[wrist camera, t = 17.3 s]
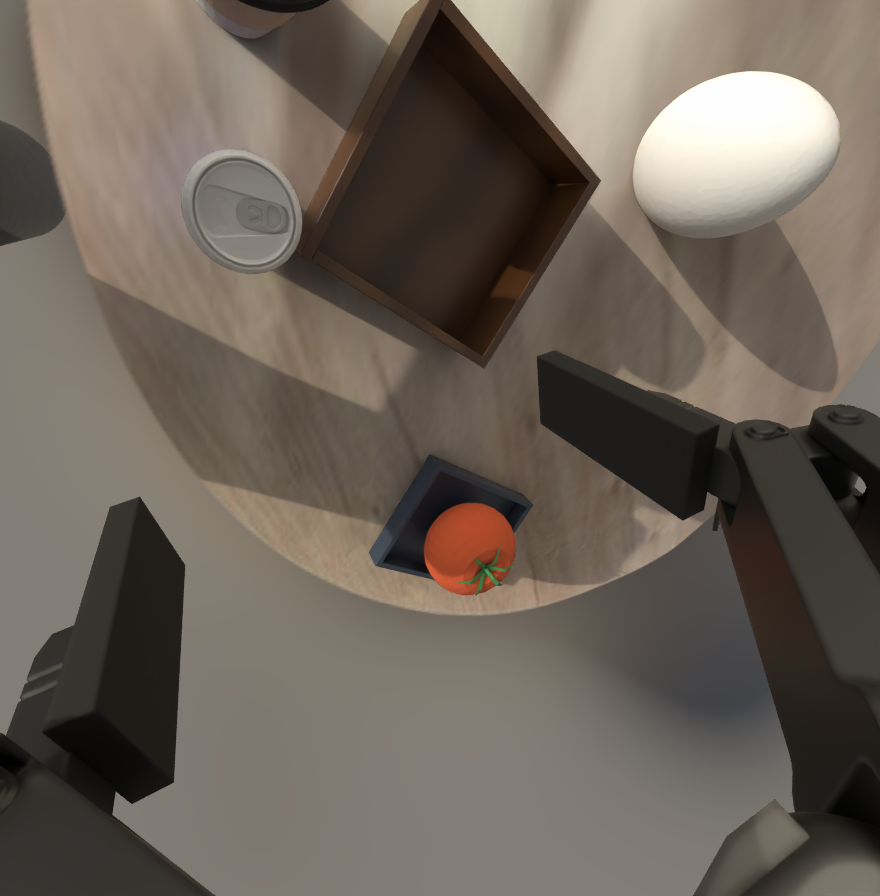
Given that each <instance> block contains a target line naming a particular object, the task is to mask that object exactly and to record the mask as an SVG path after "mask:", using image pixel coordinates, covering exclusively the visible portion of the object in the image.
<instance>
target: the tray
mask: <svg viewBox="0 0 880 896" xmlns="http://www.w3.org/2000/svg"><path fill="white" fill-rule="evenodd" d="M463 503H480V504H484V505H487V506H489V507H492V508H494V509H495V510H497V511H498V512H499V513H501V514H502V515H503V516H504V517H505V518H506V520H507V521H508V523H509V524H510V526H511V527H512V530H513V533H514V532H515V531H516V529H517V528H518V526H519V525H520V523H521V522H522V521H523V519H524V518H525V516H526V515H527V513H528V512H529V510H530V509H531V508H532V506H533V504H532V503H531V502H530V501H529V500H528V499H527V498H526V497H525V496H524V495H522V494H520V493H518V492H515V491H513V490H511V489H508V488H506V487H504V486H501V485H499V484H497V483H495V482H492V481H490V480H488V479H485V478H483V477H481V476H478V475H476V474H474V473H471V472H469V471H467V470H464V469H462V468H460V467H458V466H455V465H453V464H451V463H448V462H446V461H444V460H441V459H439V458H437V457H434V456H432V455H429V457H428V458H427V460H426V462H425V463H424V465H423V466H422V468H421V470H420V471H419V473H418V474H417V476H416V478H415V479H414V481H413V483H412V484H411V486H410V487H409V489H408V491H407V492H406V494H405V495H404V497H403V499H402V500H401V502H400V503H399V505H398V507H397V508H396V510H395V512H394V513H393V515H392V516H391V518H390V520H389V521H388V523H387V524H386V526H385V528H384V529H383V531H382V532H381V534H380V536H379V537H378V539H377V540H376V542H375V544H374V545H373V547H372V549H371V550H370V552H369V553H370V555H371V557H372V559H373V562H374V564H375V566H378V567H382V568H387V569H391V570H395V571H400V572H404V573H408V574H412V575H417V576H421V577H425V578H429V579H434V578H433V577H432V576H431V574H430V572H429V570H428V568H427V565H426V562H425V557H424V544H425V540H426V536H427V533H428V531H429V528H430V527H431V525H432V524H433V522H434V521H435V520H436V519H437V518H438V517H439V516H440V515H441V514H442V513H443V512H444V511H446V510H448V509H449V508H451V507H454V506H456V505H459V504H463Z"/></svg>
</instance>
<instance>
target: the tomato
mask: <svg viewBox="0 0 880 896" xmlns="http://www.w3.org/2000/svg"><path fill="white" fill-rule="evenodd" d="M515 554H516V541H515V536H514V533H513V530H512V527H511V526H510V524H509V523H508V521H507V520H506V518H505V517H504V516H503V515H502V514H501V513H499V512H498V511H497V510H495V509H494V508H492V507H489V506H487V505H484V504H480V503H463V504H459V505H456V506H454V507H451V508H449V509H448V510H446V511H444V512H443V513H442V514H441V515H440V516H439V517H438V518H437V519H436V520H435V521H434V522H433V524H432V525H431V527H430V528H429V531H428V533H427V536H426V540H425V544H424V557H425V562H426V565H427V568H428V570H429V572H430V574H431V576H432V577H433V578H434V580H435V581H436V582H437V583H438V584H439V585H440V586H442V587H443V588H445V589H446V590H448V591H450V592H453V593H456V594H460V595H474V594H476V595H477V594H478V593H483V592H486V591H487V590H489V589H491V588H493V587H495V586H502V585H501V584H500V582H501V581H502V580H503V579H504V578H505V577H506V575H507V574H508V572H509V570H510V568H511V567H512V566H514V565H515V564H513V561H514V558H515ZM512 564H513V565H512ZM476 595H475V596H476Z"/></svg>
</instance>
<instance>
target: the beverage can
mask: <svg viewBox="0 0 880 896" xmlns="http://www.w3.org/2000/svg"><path fill="white" fill-rule="evenodd" d="M181 205H182V212H183V217H184V220H185V223H186V226H187V228H188V230H189V232H190V235H191V236H192V238H193V239H194V241H195V242H196V244H197V245H198V246H199V247H200V249H201V250H202V251H203V252H204V253H205V254H206V255H207V256H209V257H210V258H211V259H212V260H213V261H215V262H217V263H218V264H220V265H221V266H223V267H226V268H228V269H230V270H233V271H236V272H241V273H247V274H258V273H264V272H267V271H270V270H273V269H275V268H277V267H279V266H281V265H282V264H283V263H284V262H286V261H287V260H288V259H289V257H290V256H291V255H292V254H293V252H294V251H295V249H296V247H297V245H298V243H299V240H300V236H301V232H302V212H301V208H300V203H299V201H298V198H297V195H296V193H295V191H294V189H293V187H292V185H291V184H290V182H289V181H288V179H287V178H286V177H285V176H284V174H283V173H282V172H281V171H280V170H279V169H278V168H277V167H276V166H274V165H273V164H272V163H271V162H269V161H268V160H266V159H265V158H263V157H261V156H259V155H257V154H254V153H252V152H249V151H245V150H240V149H222V150H218V151H214V152H212V153H210V154H208V155H205V156H204V157H202V158H201V159H200V160H199V161H197V162H196V163H195V165H194V166H193V167H192V168H191V169H190V171H189V173H188V175H187V176H186V179H185V182H184V184H183V189H182V195H181Z"/></svg>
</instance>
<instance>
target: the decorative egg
mask: <svg viewBox="0 0 880 896" xmlns="http://www.w3.org/2000/svg"><path fill="white" fill-rule="evenodd" d="M840 144H841V130H840V125H839V122H838V118H837V116H836V114H835V112H834V110H833V108H832V107H831V105H830V104H829V103H828V102H827V101H826V100H825V98H824V97H823V96H822V95H821V94H820V93H819V92H818V91H816V90H815V89H814V88H812V87H811V86H809V85H808V84H806V83H804V82H802V81H800V80H798V79H795V78H792V77H789V76H786V75H783V74H777V73H772V72H755V71H751V72H739V73H732V74H728V75H723V76H720V77H717V78H714V79H711V80H708V81H706V82H703V83H701V84H699V85H697V86H695V87H693V88H692V89H690V90H688V91H687V92H685V93H684V94H682V95H681V96H679V97H678V98H677V99H675V100H674V101H673V102H672V103H671V104H670V105H668V106H667V107H666V108H665V109H664V110H663V111H662V112H661V113H660V114H659V116H658V117H657V118H656V119H655V120H654V122H653V123H652V124H651V126H650V127H649V128H648V130H647V132H646V133H645V135H644V137H643V139H642V141H641V143H640V145H639V148H638V150H637V153H636V157H635V161H634V168H633V186H634V192H635V195H636V198H637V201H638V203H639V205H640V207H641V208H642V210H643V211H644V213H645V214H646V215H647V217H648V218H649V219H650V220H651V221H652V222H654V223H655V224H656V225H658V226H659V227H661V228H663V229H664V230H666V231H668V232H671V233H674V234H676V235H680V236H684V237H691V238H718V237H725V236H730V235H735V234H739V233H743V232H746V231H749V230H752V229H754V228H757V227H759V226H762V225H764V224H767V223H769V222H771V221H773V220H775V219H776V218H778V217H780V216H782V215H783V214H785V213H787V212H788V211H790V210H791V209H793V208H794V207H795V206H797V205H798V204H799V203H801V202H802V201H803V200H804V199H806V198H807V197H808V196H809V195H810V194H811V193H812V192H813V191H815V190H816V188H817V187H818V186H819V185H820V184H821V183H822V182H823V180H824V179H825V178H826V177H827V175H828V174H829V172H830V171H831V169H832V167H833V165H834V163H835V161H836V159H837V156H838V153H839V149H840Z"/></svg>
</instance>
